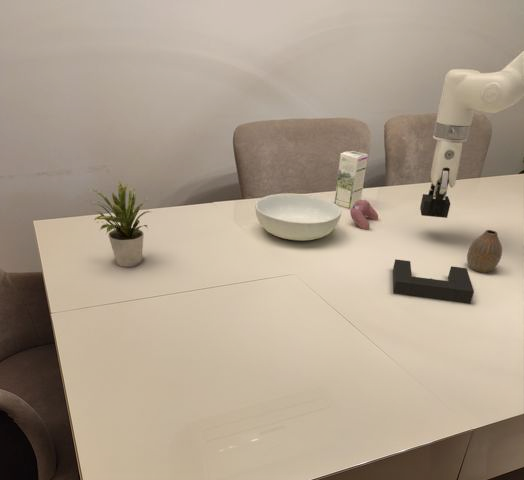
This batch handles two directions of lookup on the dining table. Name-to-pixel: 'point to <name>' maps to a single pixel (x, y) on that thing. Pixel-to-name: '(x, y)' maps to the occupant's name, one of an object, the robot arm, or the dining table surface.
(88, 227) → the dining table surface
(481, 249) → the vase
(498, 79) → the robot arm
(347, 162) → the syrup box
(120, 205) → the house plant
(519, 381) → the dining table surface
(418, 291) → the notched pad
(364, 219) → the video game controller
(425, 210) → the black block
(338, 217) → the serving bowl
